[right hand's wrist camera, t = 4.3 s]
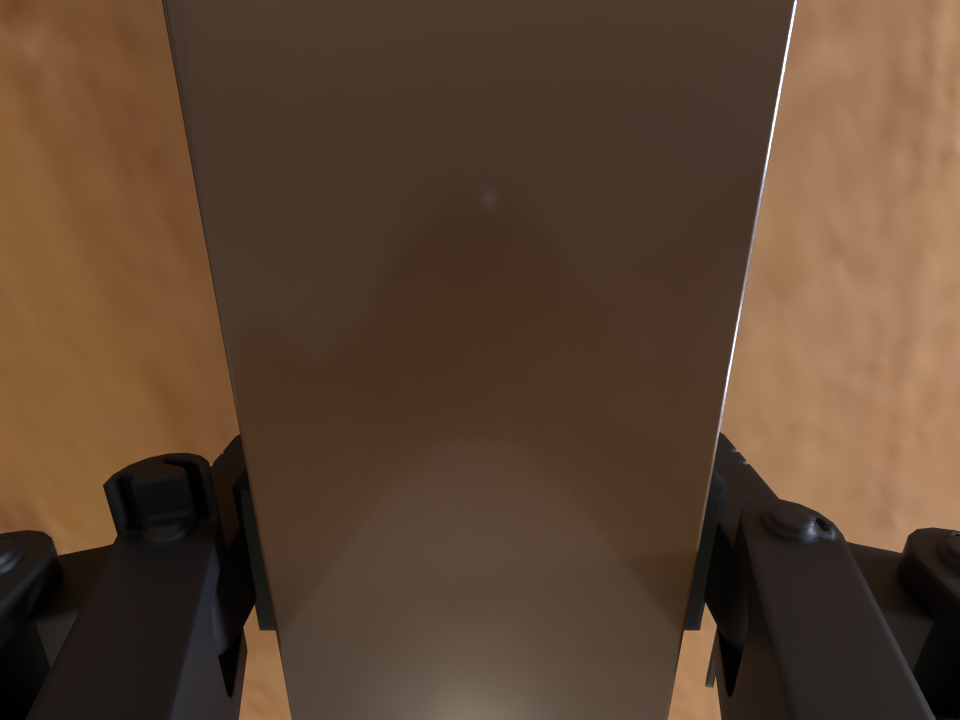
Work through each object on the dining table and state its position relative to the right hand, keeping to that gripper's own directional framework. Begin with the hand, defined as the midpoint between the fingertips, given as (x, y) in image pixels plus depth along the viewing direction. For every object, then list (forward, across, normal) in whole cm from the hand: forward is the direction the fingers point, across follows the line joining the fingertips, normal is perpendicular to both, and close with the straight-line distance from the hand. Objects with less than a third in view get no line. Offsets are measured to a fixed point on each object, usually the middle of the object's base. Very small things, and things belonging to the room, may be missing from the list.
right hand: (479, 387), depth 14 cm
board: (+1, 0, -22) cm, 22 cm away
